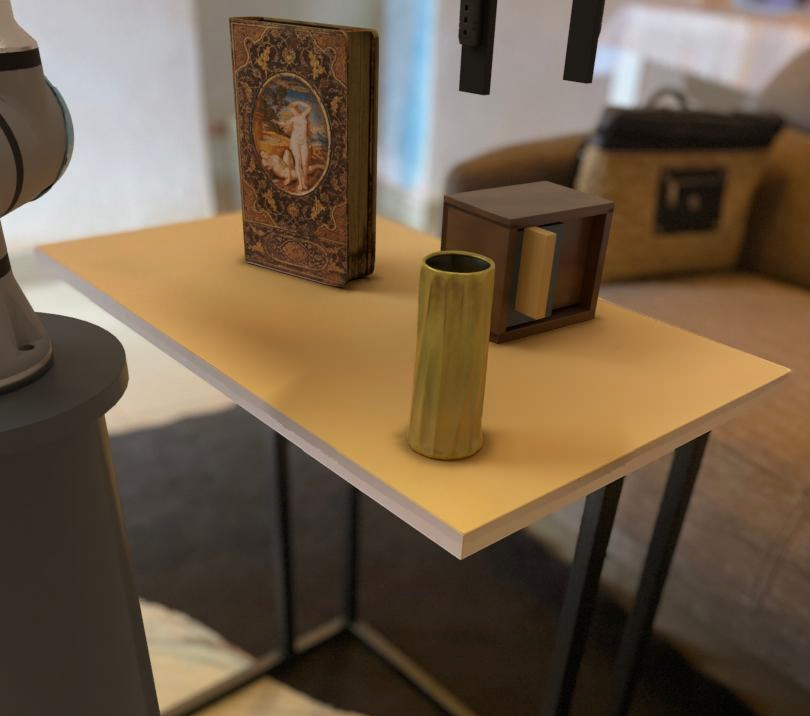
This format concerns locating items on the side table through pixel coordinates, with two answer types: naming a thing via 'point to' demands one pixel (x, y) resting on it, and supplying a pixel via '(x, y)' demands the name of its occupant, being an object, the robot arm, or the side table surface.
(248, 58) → the book
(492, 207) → the small wooden bookshelf
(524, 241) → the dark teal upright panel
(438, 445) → the vase
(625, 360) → the side table surface
